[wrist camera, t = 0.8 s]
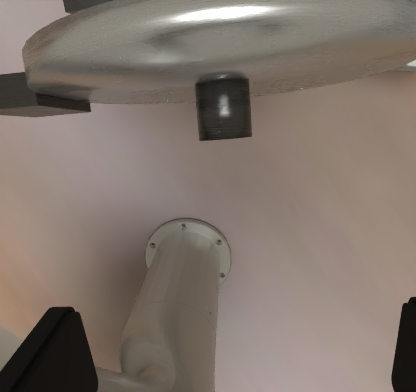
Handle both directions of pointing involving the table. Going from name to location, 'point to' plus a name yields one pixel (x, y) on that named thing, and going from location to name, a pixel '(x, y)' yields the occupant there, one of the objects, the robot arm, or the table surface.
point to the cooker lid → (205, 55)
